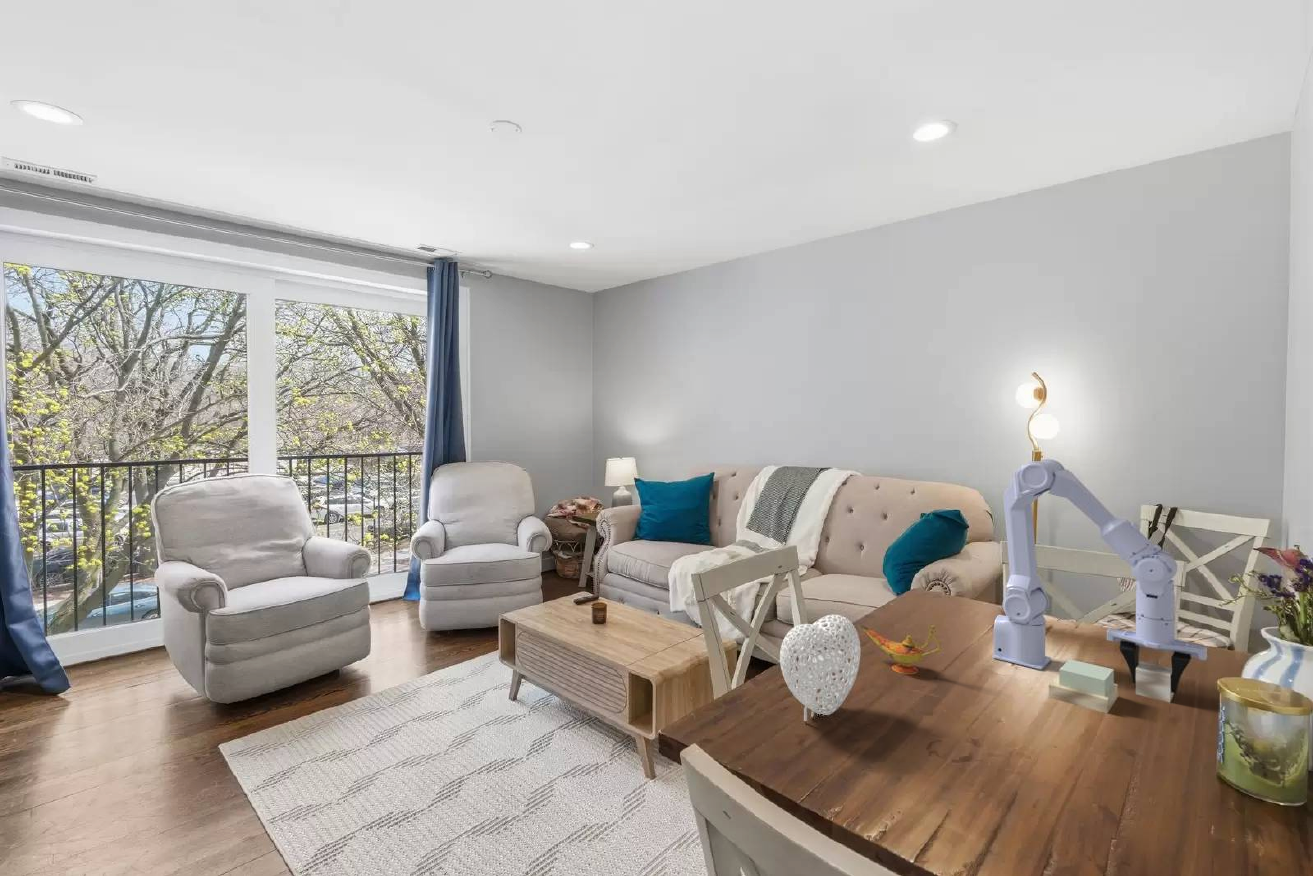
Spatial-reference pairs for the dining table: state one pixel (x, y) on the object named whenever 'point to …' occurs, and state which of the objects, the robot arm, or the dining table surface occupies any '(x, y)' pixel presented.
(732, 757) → the dining table surface
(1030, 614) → the robot arm
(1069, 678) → the sage block
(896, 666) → the magic lamp
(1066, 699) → the birch slab
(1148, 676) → the ivory cube
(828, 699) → the decorative heart
